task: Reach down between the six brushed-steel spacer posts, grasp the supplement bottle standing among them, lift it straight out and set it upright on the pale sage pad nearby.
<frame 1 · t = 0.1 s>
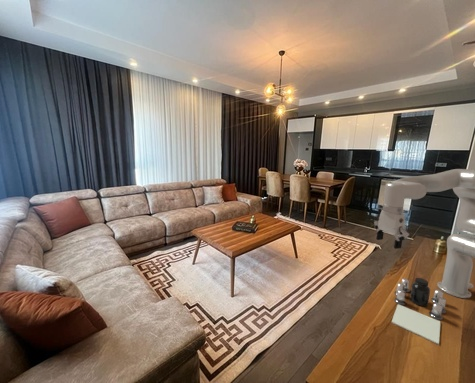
hand: (388, 243, 98), 31 cm above the table, tool pointing down, fingers open, 9 cm apart
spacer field: (418, 301, 102), on the table
sage pad: (415, 322, 90), on the table
supplement bottle: (418, 302, 102), on the table
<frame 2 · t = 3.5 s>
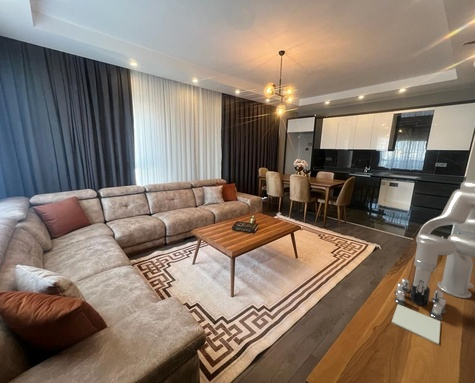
hand: (419, 296, 102), 3 cm above the table, tool pointing down, fingers closed on supplement bottle, 6 cm apart
supplement bottle: (418, 302, 102), on the table, touching gripper
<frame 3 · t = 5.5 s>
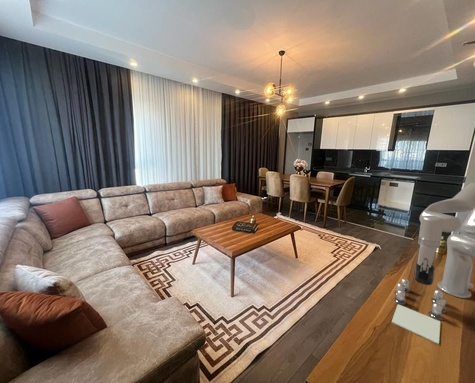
hand: (423, 275, 100), 15 cm above the table, tool pointing down, fingers closed on supplement bottle, 6 cm apart
supplement bottle: (422, 281, 100), point 11 cm above the table, touching gripper
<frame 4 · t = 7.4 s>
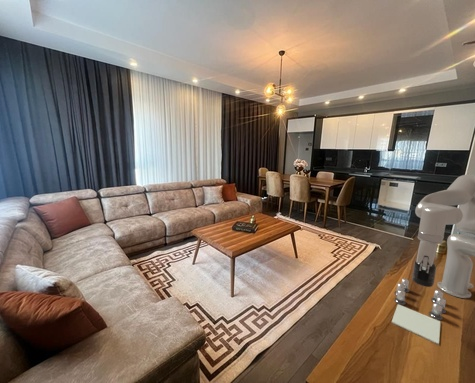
hand: (423, 275, 87), 22 cm above the table, tool pointing down, fingers closed on supplement bottle, 6 cm apart
supplement bottle: (422, 282, 87), point 19 cm above the table, touching gripper
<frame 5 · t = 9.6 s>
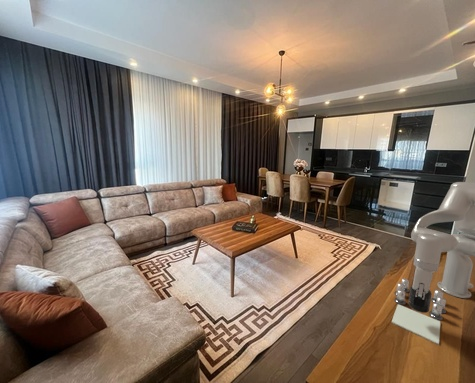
hand: (419, 301, 88), 11 cm above the table, tool pointing down, fingers closed on supplement bottle, 6 cm apart
supplement bottle: (418, 307, 88), point 8 cm above the table, touching gripper
when the fingers open (5 cm above the table, at t = 11.3 s): supplement bottle drops 1 cm, resting on sage pad.
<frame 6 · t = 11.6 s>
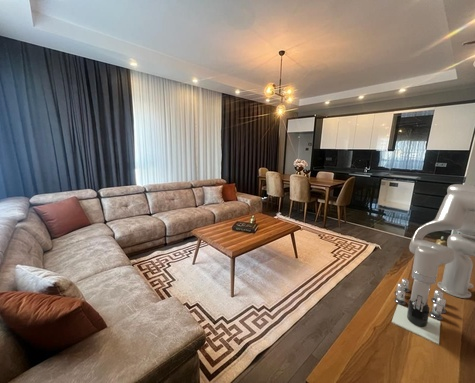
hand: (417, 311, 89), 6 cm above the table, tool pointing down, fingers open, 9 cm apart
supplement bottle: (416, 321, 90), resting on sage pad
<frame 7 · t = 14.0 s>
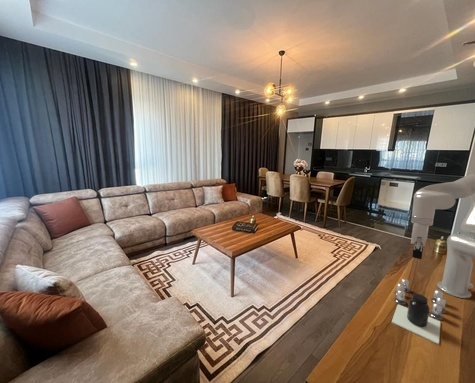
hand: (417, 254, 97), 26 cm above the table, tool pointing down, fingers open, 9 cm apart
nothing on the table moved.
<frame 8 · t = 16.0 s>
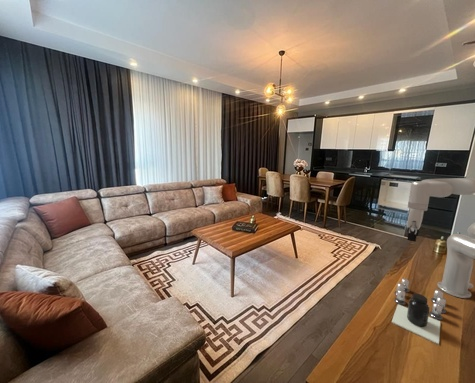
hand: (412, 237, 106), 30 cm above the table, tool pointing down, fingers open, 9 cm apart
nothing on the table moved.
at the end: supplement bottle inside the target area on the sage pad (0.4 cm from its centre), point 0.4 cm above the sage pad's base; supplement bottle tilted 0°; the gripper is holding nothing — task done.
